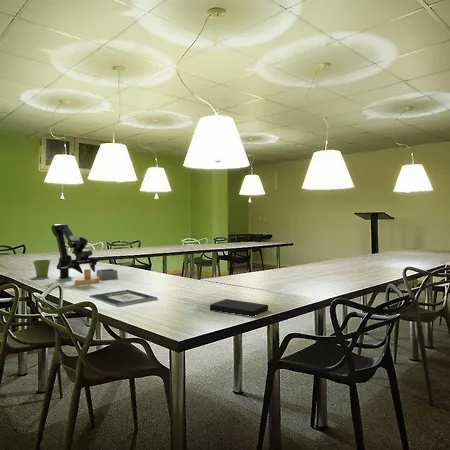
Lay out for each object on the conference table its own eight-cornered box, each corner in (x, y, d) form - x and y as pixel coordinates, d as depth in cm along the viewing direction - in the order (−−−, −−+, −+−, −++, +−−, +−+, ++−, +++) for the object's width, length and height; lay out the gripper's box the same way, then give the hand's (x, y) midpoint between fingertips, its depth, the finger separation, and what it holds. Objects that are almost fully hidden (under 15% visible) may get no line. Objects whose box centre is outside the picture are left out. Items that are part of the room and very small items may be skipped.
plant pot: (30, 276, 281) (29, 260, 280) (46, 274, 289) (46, 259, 289) (37, 278, 273) (36, 262, 272) (53, 276, 282) (53, 260, 281)
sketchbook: (127, 292, 227) (127, 288, 227) (158, 301, 204) (158, 296, 204) (89, 297, 211) (89, 293, 211) (118, 308, 188) (118, 303, 188)
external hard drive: (253, 318, 169) (253, 311, 169) (209, 310, 181) (209, 304, 181) (268, 311, 181) (268, 304, 180) (226, 304, 193) (226, 298, 193)
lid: (80, 281, 260) (80, 268, 260) (99, 280, 261) (99, 268, 261) (74, 284, 248) (74, 271, 247) (94, 284, 249) (94, 271, 248)
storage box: (96, 278, 270) (96, 270, 270) (112, 277, 276) (112, 268, 276) (101, 280, 261) (101, 272, 261) (117, 279, 267) (117, 270, 267)
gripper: (70, 247, 249) (79, 266, 242) (96, 245, 263) (106, 263, 256) (64, 258, 255) (73, 277, 248) (90, 256, 269) (99, 273, 262)
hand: (88, 272), depth 253 cm, fingers open, 8 cm apart
